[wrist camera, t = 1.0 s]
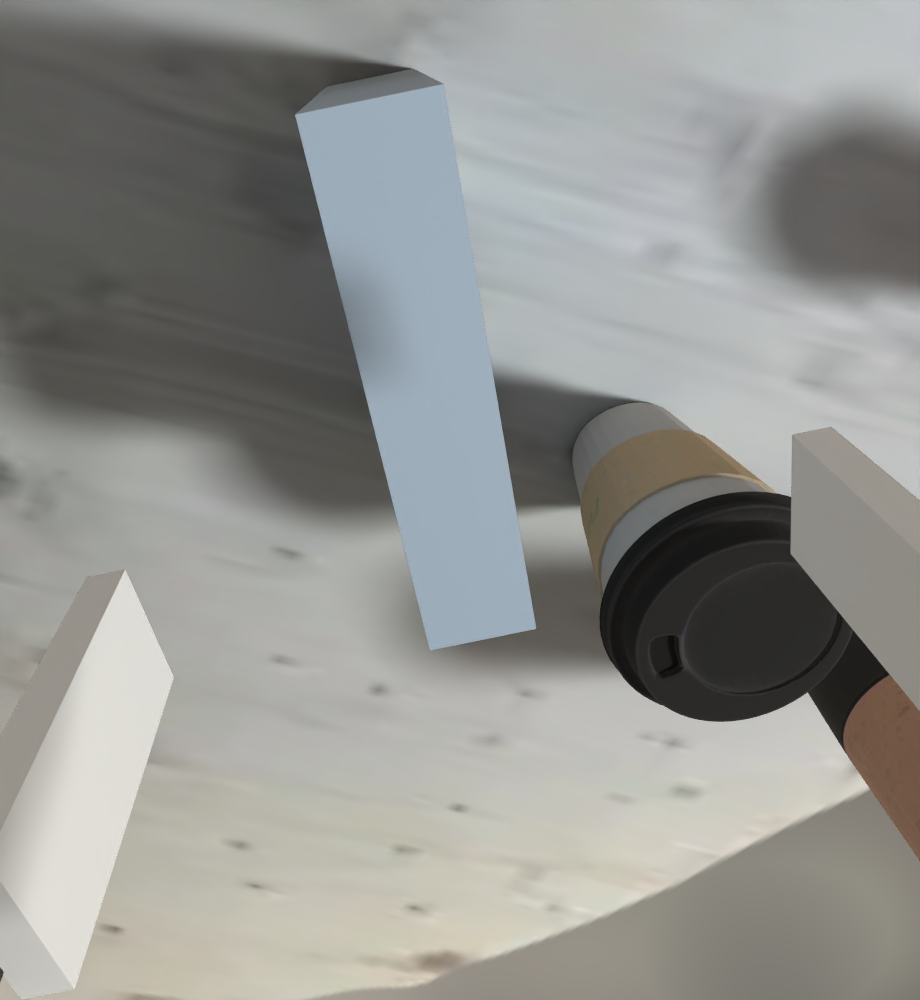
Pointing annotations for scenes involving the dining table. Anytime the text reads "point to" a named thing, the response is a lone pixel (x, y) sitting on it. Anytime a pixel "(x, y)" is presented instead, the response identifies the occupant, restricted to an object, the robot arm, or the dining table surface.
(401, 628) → the dining table surface
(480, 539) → the light blue slab
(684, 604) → the coffee cup
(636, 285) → the dining table surface
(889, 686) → the travel mug
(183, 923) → the dining table surface
